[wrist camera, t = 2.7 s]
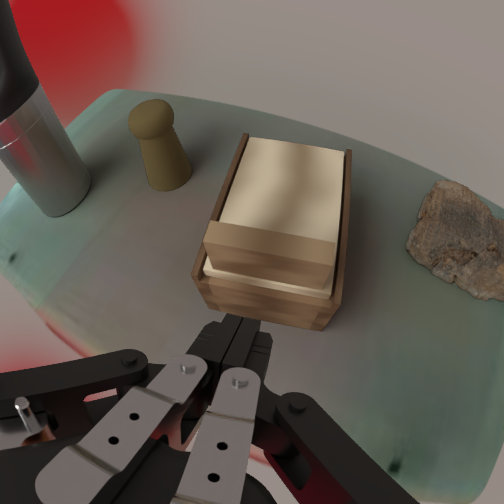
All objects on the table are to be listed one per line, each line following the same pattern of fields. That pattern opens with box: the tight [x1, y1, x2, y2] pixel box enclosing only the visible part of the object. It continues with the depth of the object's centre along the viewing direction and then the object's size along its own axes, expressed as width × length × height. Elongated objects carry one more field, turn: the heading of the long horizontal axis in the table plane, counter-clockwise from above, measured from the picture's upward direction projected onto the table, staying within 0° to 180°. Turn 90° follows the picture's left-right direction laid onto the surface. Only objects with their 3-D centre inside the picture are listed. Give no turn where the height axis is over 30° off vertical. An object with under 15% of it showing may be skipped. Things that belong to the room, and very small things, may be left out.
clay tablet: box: [405, 180, 504, 301], centre depth 29 cm, size 14×5×20 cm
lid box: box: [191, 133, 352, 331], centre depth 28 cm, size 11×16×8 cm
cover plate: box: [203, 137, 344, 299], centre depth 24 cm, size 9×15×5 cm, turn 167°
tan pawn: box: [128, 99, 192, 191], centre depth 33 cm, size 6×6×11 cm
